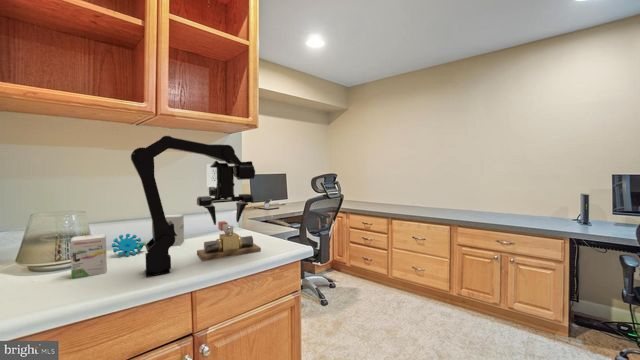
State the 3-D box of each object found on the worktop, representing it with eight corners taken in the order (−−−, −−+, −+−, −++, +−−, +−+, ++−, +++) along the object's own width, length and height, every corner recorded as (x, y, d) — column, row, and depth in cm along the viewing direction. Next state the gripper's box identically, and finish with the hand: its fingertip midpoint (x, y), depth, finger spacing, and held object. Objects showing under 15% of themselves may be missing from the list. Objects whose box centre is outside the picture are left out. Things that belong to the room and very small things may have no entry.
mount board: (201, 261, 102) (201, 256, 102) (196, 254, 111) (196, 250, 111) (260, 251, 114) (260, 247, 114) (252, 245, 122) (252, 242, 122)
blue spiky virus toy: (110, 255, 104) (112, 232, 110) (109, 264, 107) (111, 241, 113) (146, 254, 110) (146, 232, 116) (143, 262, 114) (143, 240, 119)
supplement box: (180, 245, 123) (180, 216, 123) (161, 246, 121) (161, 217, 121) (184, 241, 130) (184, 213, 130) (166, 242, 129) (166, 214, 128)
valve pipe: (206, 255, 105) (206, 239, 105) (203, 252, 110) (203, 236, 110) (254, 248, 115) (253, 233, 114) (249, 245, 119) (249, 230, 119)
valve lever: (234, 234, 112) (234, 226, 111) (226, 235, 110) (225, 227, 110) (225, 228, 123) (225, 221, 123) (217, 228, 121) (217, 221, 121)
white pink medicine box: (70, 279, 86) (69, 240, 85) (73, 274, 90) (71, 236, 89) (106, 273, 90) (105, 236, 90) (107, 268, 95) (106, 233, 94)
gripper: (244, 178, 115) (244, 217, 115) (193, 180, 105) (194, 222, 105) (253, 179, 105) (254, 221, 106) (199, 181, 95) (200, 228, 96)
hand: (226, 223), depth 103 cm, fingers open, 8 cm apart
